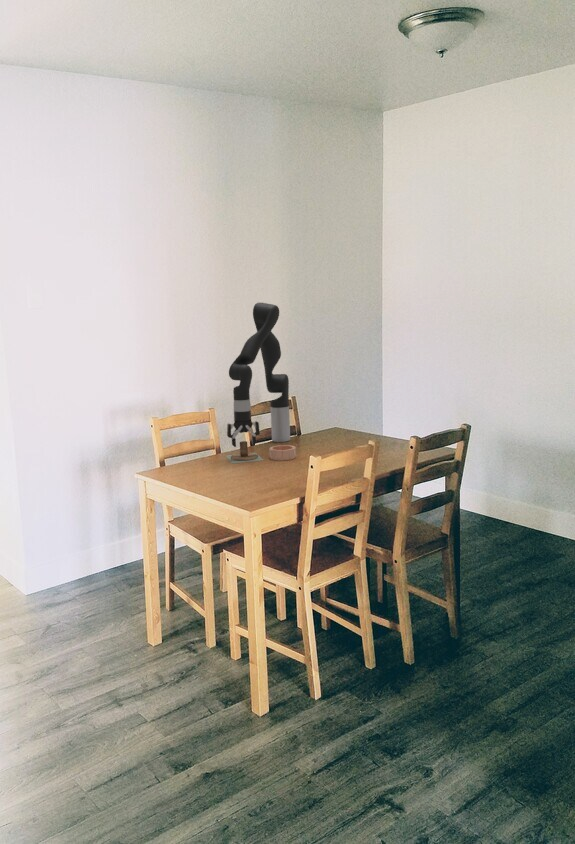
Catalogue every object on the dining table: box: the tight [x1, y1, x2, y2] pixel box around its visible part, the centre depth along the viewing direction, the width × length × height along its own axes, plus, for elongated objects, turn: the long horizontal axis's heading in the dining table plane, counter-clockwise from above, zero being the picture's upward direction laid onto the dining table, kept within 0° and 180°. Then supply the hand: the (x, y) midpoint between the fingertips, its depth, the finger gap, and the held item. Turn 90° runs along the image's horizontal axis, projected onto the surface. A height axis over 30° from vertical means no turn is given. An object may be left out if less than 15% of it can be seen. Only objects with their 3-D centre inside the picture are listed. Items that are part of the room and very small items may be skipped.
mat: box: [225, 452, 264, 464], centre depth 319 cm, size 16×14×1 cm
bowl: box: [268, 444, 297, 462], centre depth 316 cm, size 11×11×5 cm
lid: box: [231, 440, 259, 461], centre depth 318 cm, size 12×12×7 cm
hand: (244, 445), depth 317 cm, fingers open, 8 cm apart
